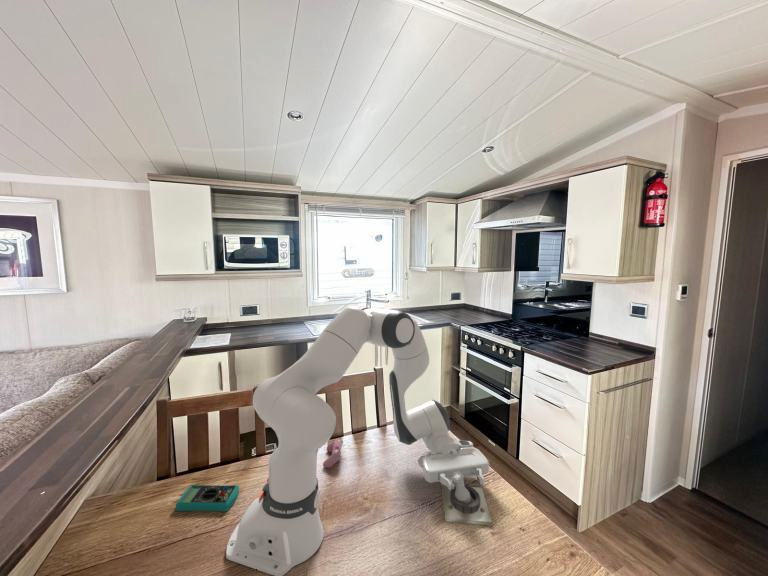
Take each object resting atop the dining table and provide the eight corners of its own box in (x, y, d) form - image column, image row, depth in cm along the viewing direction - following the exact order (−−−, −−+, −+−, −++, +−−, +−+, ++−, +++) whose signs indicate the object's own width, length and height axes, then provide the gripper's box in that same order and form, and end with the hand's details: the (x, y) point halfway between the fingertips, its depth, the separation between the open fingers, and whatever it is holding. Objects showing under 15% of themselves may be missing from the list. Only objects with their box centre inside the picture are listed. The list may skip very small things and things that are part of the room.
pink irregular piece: (333, 473, 102) (343, 455, 102) (321, 467, 102) (331, 449, 101) (337, 454, 112) (346, 437, 111) (326, 448, 112) (334, 432, 111)
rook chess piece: (452, 501, 88) (446, 478, 86) (460, 489, 91) (454, 466, 90) (466, 508, 85) (460, 484, 83) (474, 496, 88) (467, 472, 86)
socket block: (445, 521, 83) (445, 511, 82) (441, 487, 95) (441, 478, 94) (491, 525, 82) (492, 515, 81) (481, 490, 94) (482, 481, 93)
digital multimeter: (229, 513, 85) (229, 503, 84) (174, 513, 84) (173, 503, 84) (241, 492, 92) (241, 483, 92) (190, 492, 92) (190, 483, 91)
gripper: (416, 448, 97) (432, 480, 84) (475, 440, 102) (500, 469, 88) (415, 467, 98) (431, 501, 85) (474, 458, 102) (498, 489, 89)
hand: (467, 485), depth 86 cm, fingers open, 8 cm apart
